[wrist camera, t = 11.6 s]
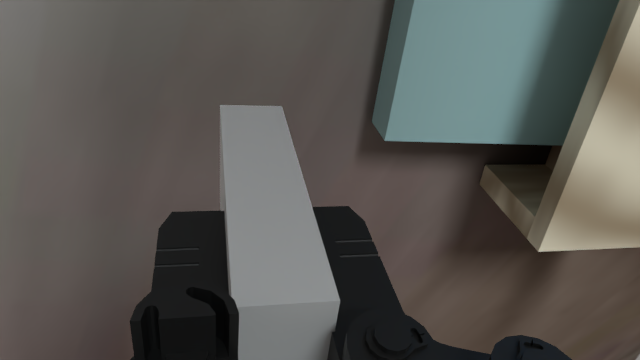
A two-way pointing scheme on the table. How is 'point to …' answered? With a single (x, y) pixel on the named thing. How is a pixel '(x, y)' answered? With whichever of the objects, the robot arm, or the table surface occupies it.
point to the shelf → (586, 159)
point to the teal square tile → (488, 69)
